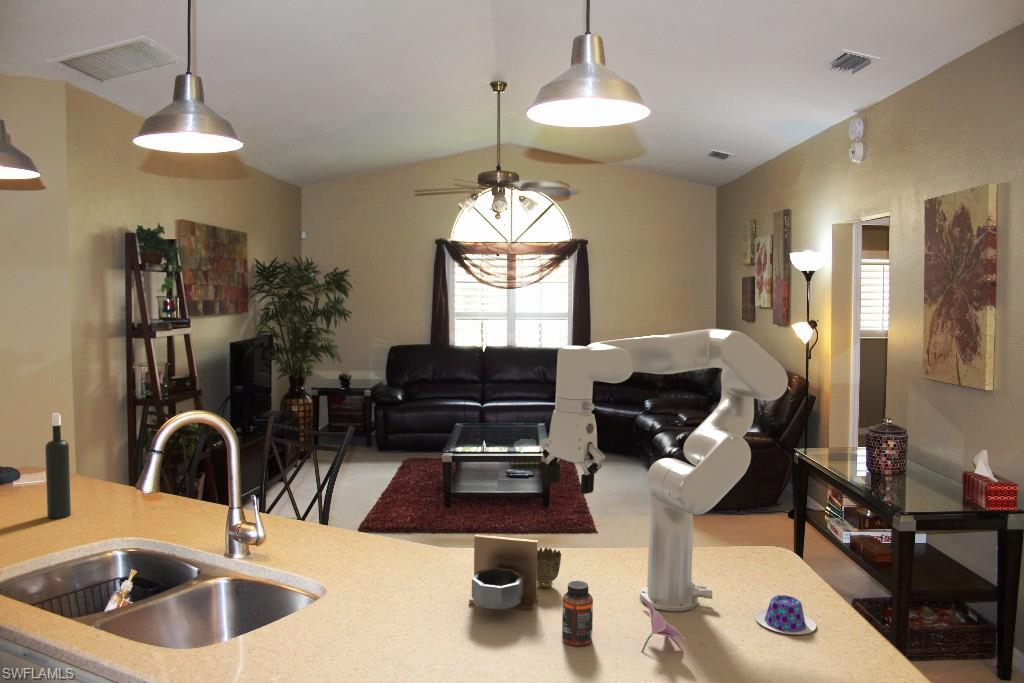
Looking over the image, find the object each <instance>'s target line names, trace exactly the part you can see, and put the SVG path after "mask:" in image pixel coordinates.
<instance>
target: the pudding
mask: <svg viewBox="0 0 1024 683" xmlns="http://www.w3.org/2000/svg"><path fill="white" fill-rule="evenodd" d="M754 616H755V617H754V618H755V620H756V621H757V622H758V624H759V625H761V626H763V627H764V628H766V629H769V630H772V631H774V632H778V633H781V634H787V635H805V634H810V633H812V632H814V631H815V630H816V629H817V624H816V622H815V621H814V619H812V618H811V617H809V616H807V615H806V614H804V609H803V605H802V602H801V601H800V600H799V599H797V598H796V597H794V596H789V595H785V594H781V595H779V594H778V595H775V596H773V597H772V598H770V601H769V604H768V607H767V608H765V609H760V610H759V611H757V612H756V614H755V615H754Z"/></svg>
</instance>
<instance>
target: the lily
mask: <svg viewBox="0 0 1024 683" xmlns="http://www.w3.org/2000/svg"><path fill="white" fill-rule="evenodd" d="M640 595H641V594H640V592H639V596H640ZM641 597H642V598H643V599H644V601H645V602H646V604H647V605H646V604H645V605H646V606H647V608H648V610H649V611H647V610H645V609H644V610H642V612H643V613H644V614H645V615H646V616H647V617H649V619H650V621H651V622H650V623H651V633H650V634H649V636H648V637H647V639H646V641H645V643H644V645H643V647H642V650H641V653H643V652H644V650H645V648H646V646H647V644H648V642H649V640H650V639H651V637H652V636H653V635H660V636H665V637H667V638H669V639H670V640H671V641H673V643H675V645H676V646H677V647H678V648H679V649H680V651H681V652H682V653H684V649H683V648H682V646H681V645H680V643H679V642H678V641H677V639H676V638H678V639H682V640H685V641H686V638H685V636H684V635H683V634H682V633H681V632H680V631H679V630H678V629H677V628H676V627H675V626H673V625H672V624H670V623H669V622H668V621H669V619H668V618H667V619H665V618H664V617H663V616H662V614H660V612H659V611H658V610H656V608H654V607H653V606H652V605H651V603H650V602H649V601H648V600H647V599H646V598H645V597H644V596H642V595H641Z"/></svg>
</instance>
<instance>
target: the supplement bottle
mask: <svg viewBox="0 0 1024 683" xmlns="http://www.w3.org/2000/svg"><path fill="white" fill-rule="evenodd" d="M561 614H562V621H561V622H562V623H561V624H562V625H561V626H562V627H561V629H562V630H561V634H562V635H561V637H562V640H563V642H564V643H565V644H567V645H569V646H573V647H582V646H583V647H584V646H587V645H589V644H590V643H592V641H593V621H594V618H593V616H594V597H593V595H591V594H590V592H589V584H588V583H587V582H586V581H583V580H572V581H570V582H569V583H568V584H567V592H565V593H564V594H563V596H562V613H561Z"/></svg>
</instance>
